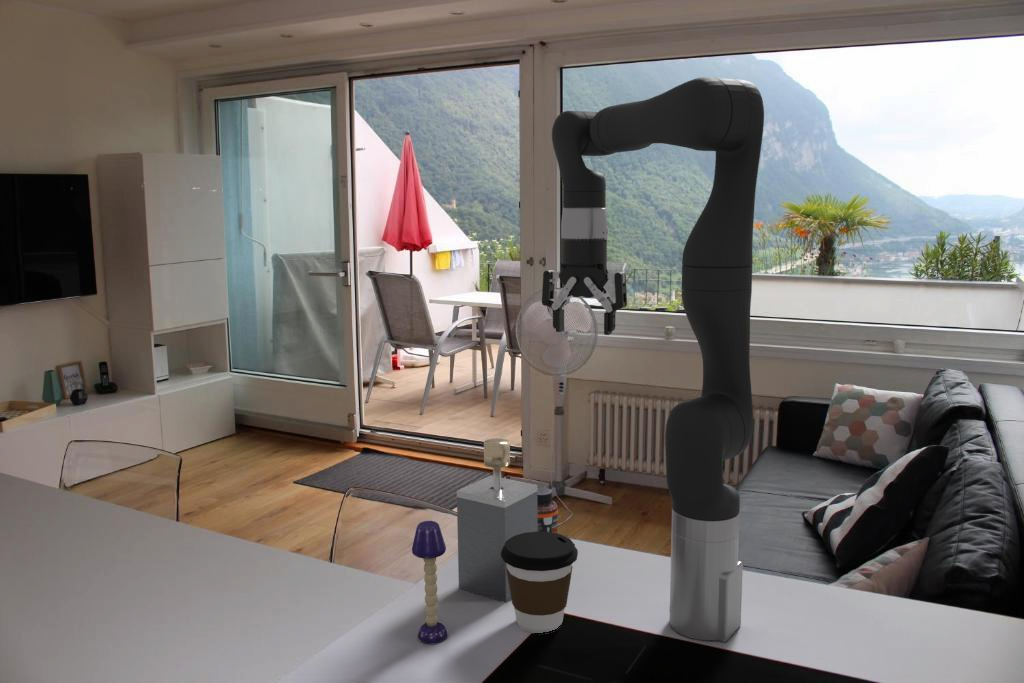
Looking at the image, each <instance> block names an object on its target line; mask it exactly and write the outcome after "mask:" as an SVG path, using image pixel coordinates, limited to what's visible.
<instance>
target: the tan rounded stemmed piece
mask: <svg viewBox="0 0 1024 683" xmlns="http://www.w3.org/2000/svg"><path fill="white" fill-rule="evenodd" d="M510 444H511V442H510V440H508V439H506V438H497V437H496V438H489V439H486V440H484V441H483V464H484V466H485V467H487V468H492V470H493V471H492V474H493V475H492V476H493V483H494V490H498V491H500V490H501V478H502V468H506V467H508V466H510V464H511V449H510V448H511V445H510Z"/></svg>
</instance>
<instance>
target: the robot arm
mask: <svg viewBox="0 0 1024 683" xmlns="http://www.w3.org/2000/svg"><path fill="white" fill-rule="evenodd" d="M764 125H765V108H764V101H763V97H762V94H761V92H760V89H758V87H757V86H756V84H754V83H752V82H751V81H749V80H744V79H739V78H738V79H736V78H726V77H725V78H724V77H723V78H722V77H709V76H704V77H697V78H694V79H691V80H688V81H686V82H683V83H681V84H679V85H676V86H675V87H673V88H670V89H668V90H667V91H664V92H663V93H660V94H657V95H655V96H653V97H650V98H647V99H644V100H638V101H631V102H627V103H620V104H615V105H611V106H607V107H604V108H602V109H600V110H599V111H583V110H582V111H581V110H566V111H562V112H561V113H560V114H559V115H557V117H556V119H555V120H554V122H553V126H552V129H551V141H552V146H553V150H554V154H555V157H556V160H557V166H558V168H559V169H558V170H559V173H560V177H561V181H562V215H561V225H560V226H561V227H560V228H561V230H560V231H561V237H560V238H561V241H560V243H561V247H560V248H561V256H560V257H561V261H560V262H561V269H560V271H557V270H554V269H547V270H545V271H543V273H542V290H541V291H542V293H541V304H542V305H543V306H544V307H548V308H550V309H552V327H553V329H555V332H556V333H562V332H564V330H565V308H564V306H565V305H566V304H567V302H568V301H569V300H570V299H571V298H579V297H584V298H589V299H591V298H595V299H596V300H597V302H598V303H600V304H601V306H602V307H603V309H604V310H605V312H604V313H603V335H604V336H610V335H612V333H613V332H614V331H615V330H616V312H617V311H618V310H621V309H623V308H626V307H627V306H628V295H627V294H628V293H627V289H628V288H627V275H626V272H625V271H618V272H609V271H608V266H607V264H608V233H609V231H608V220H607V219H608V218H607V211H606V207H607V204H606V200H607V198H606V197H607V196H606V195H607V192H606V191H607V188H606V187H607V182H606V178H605V175H604V174H603V173H601V171H600V172H599V171H596V170H592V169H589V168H588V167H587V165H585V162H584V159H583V157H603V156H604V157H605V156H609V155H613V154H615V153H625V152H634V151H639V150H643V149H646V148H648V147H650V146H651V145H653V144H665V145H670V146H676V147H681V148H686V149H691V150H694V151H697V152H698V151H699V152H700V151H701V152H715V164H714V177H713V183H712V188H711V192H710V195H709V197H708V200H707V202H706V204H705V206H704V208H703V210H702V211H701V212H700V213H701V214H700V215H699V217H698V218H697V220H696V222H695V224H694V226H693V227H692V229H691V232H690V233H689V236H688V237H687V240H686V242H685V245H684V249H683V252H682V258H681V260H682V262H681V301H682V306H683V309H684V313H685V316H686V318H687V321H688V322H689V325H690V328H691V329H692V330H691V331H692V332H693V335H694V336H695V338H696V340H697V342H698V345H699V349H700V354H701V359H702V386H701V387H702V388H701V396H700V397H695V398H691V399H688V400H684V401H681V402H679V403H678V404H676V405H675V406H674V407H673V408H672V410H671V411H670V413H668V417H667V419H666V420H667V421H666V426H665V431H664V432H665V435H664V438H665V440H664V443H665V444H664V445H665V447H664V448H665V473H666V474H665V476H666V486H667V489H668V492H669V494H670V497H671V531H670V532H671V533H670V534H671V535H670V537H671V539H670V540H671V541H670V575H669V576H670V577H669V578H670V579H669V580H670V582H669V583H670V584H669V585H670V586H669V587H670V588H669V591H670V592H669V625H670V627H671V628H672V629H673V630H674V631H675V632H677V633H678V634H680V635H683V636H684V637H687V638H691V639H693V640H694V639H695V640H698V641H699V640H700V641H720V642H724V643H726V642H728V640H729V639H730V638H731V637H732V635H733V634H734V633H735V632H736V631H737V630H738V628H740V626H741V625H742V600H743V599H742V596H743V574H744V573H743V567H744V563H743V561H741V560H739V537H740V536H739V534H740V513H741V512H740V509H741V508H740V507H741V498H740V494H739V493H740V492H739V491H738V490H737V489H735V487H733V486H731V485H729V484H727V483H724V474H723V473H724V469H723V468H724V467H723V466H724V465H723V464H724V463H723V462H724V461H726V460H730V459H734V458H735V457H737V456H739V455H741V454H742V453H744V452H745V451H746V449H747V448H748V447H749V446H750V443H751V440H752V437H753V432H754V408H753V406H754V405H753V395H752V394H753V393H752V382H751V367H750V365H751V364H750V363H751V362H750V352H751V351H750V349H751V305H752V294H753V293H752V291H753V288H752V287H753V264H754V262H753V261H754V260H753V242H754V241H753V238H754V237H753V236H754V220H755V219H754V218H755V205H756V204H755V202H756V190H757V181H758V174H759V166H760V158H761V153H762V152H761V151H762V146H763V145H762V144H763V135H764ZM558 280H559V281H561V283H562V285H563V288H562V289H561V291H560V292H559V293H558V295H557V297H556V299H555V284H556V283H558ZM608 281H610V283H611V285H612V286H614V295H615V298H614V299H615V302H614V300H613V298H612V297H611V295H610V293H609V291H608V290H607V289H606V287H605V285H607V282H608ZM563 308H564V309H563Z"/></svg>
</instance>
